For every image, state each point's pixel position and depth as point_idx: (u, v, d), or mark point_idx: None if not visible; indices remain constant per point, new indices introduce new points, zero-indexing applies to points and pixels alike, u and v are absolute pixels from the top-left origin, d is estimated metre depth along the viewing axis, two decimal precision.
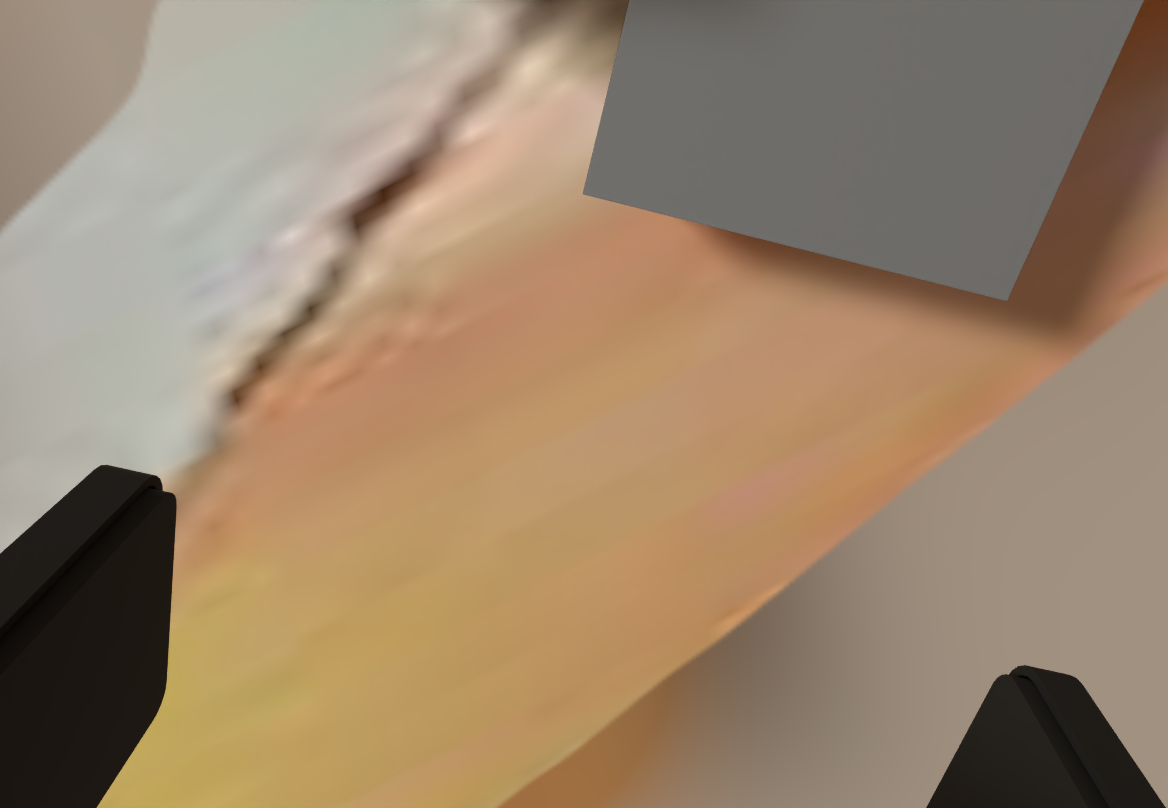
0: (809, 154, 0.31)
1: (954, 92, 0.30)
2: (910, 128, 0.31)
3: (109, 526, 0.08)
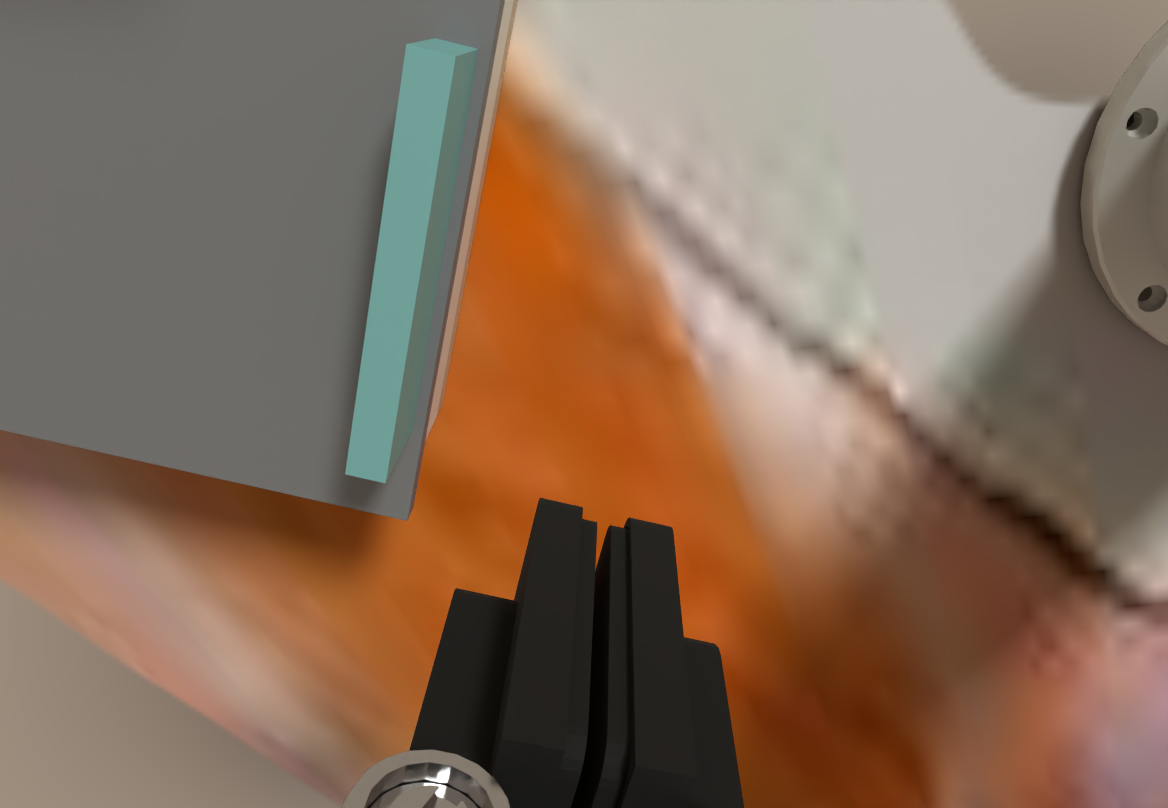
0: None
1: None
2: None
3: (578, 553, 0.10)
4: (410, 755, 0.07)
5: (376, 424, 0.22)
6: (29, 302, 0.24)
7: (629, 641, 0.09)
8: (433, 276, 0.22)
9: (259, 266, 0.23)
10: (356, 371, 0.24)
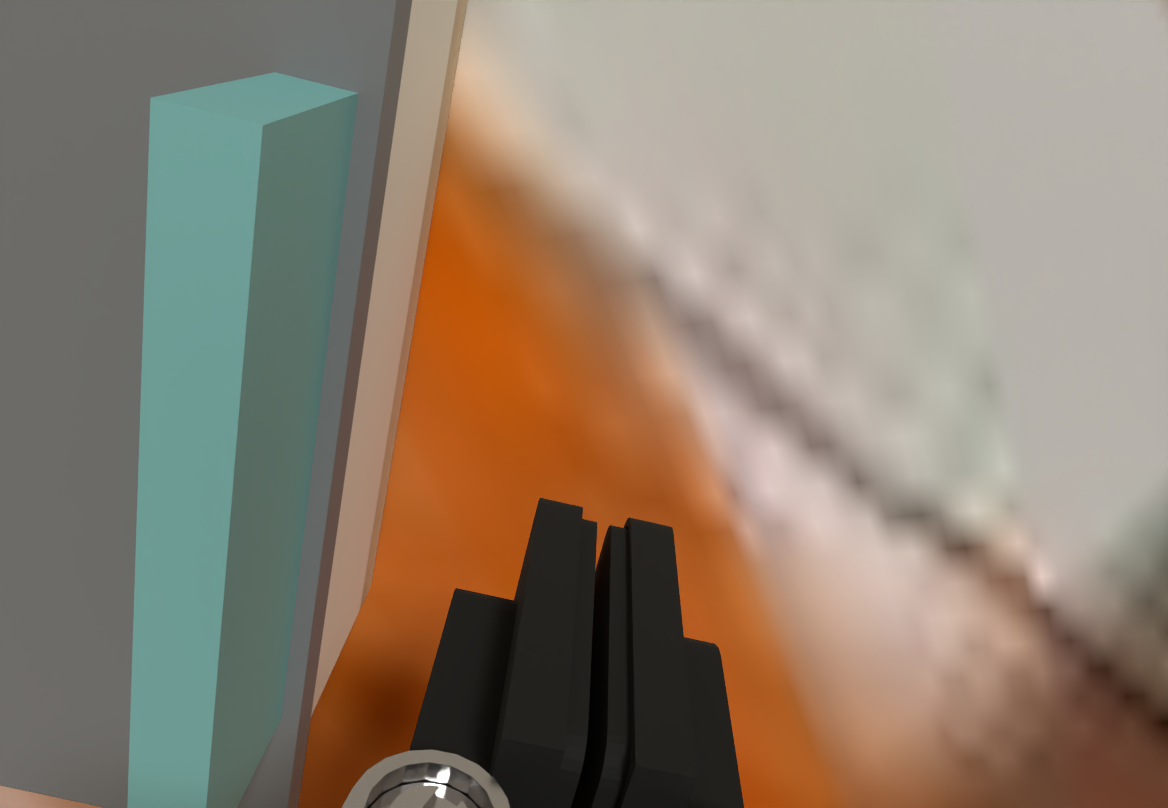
0: None
1: None
2: None
3: (579, 553, 0.10)
4: (410, 755, 0.07)
5: (172, 793, 0.11)
6: None
7: (629, 641, 0.09)
8: (287, 505, 0.12)
9: None
10: None
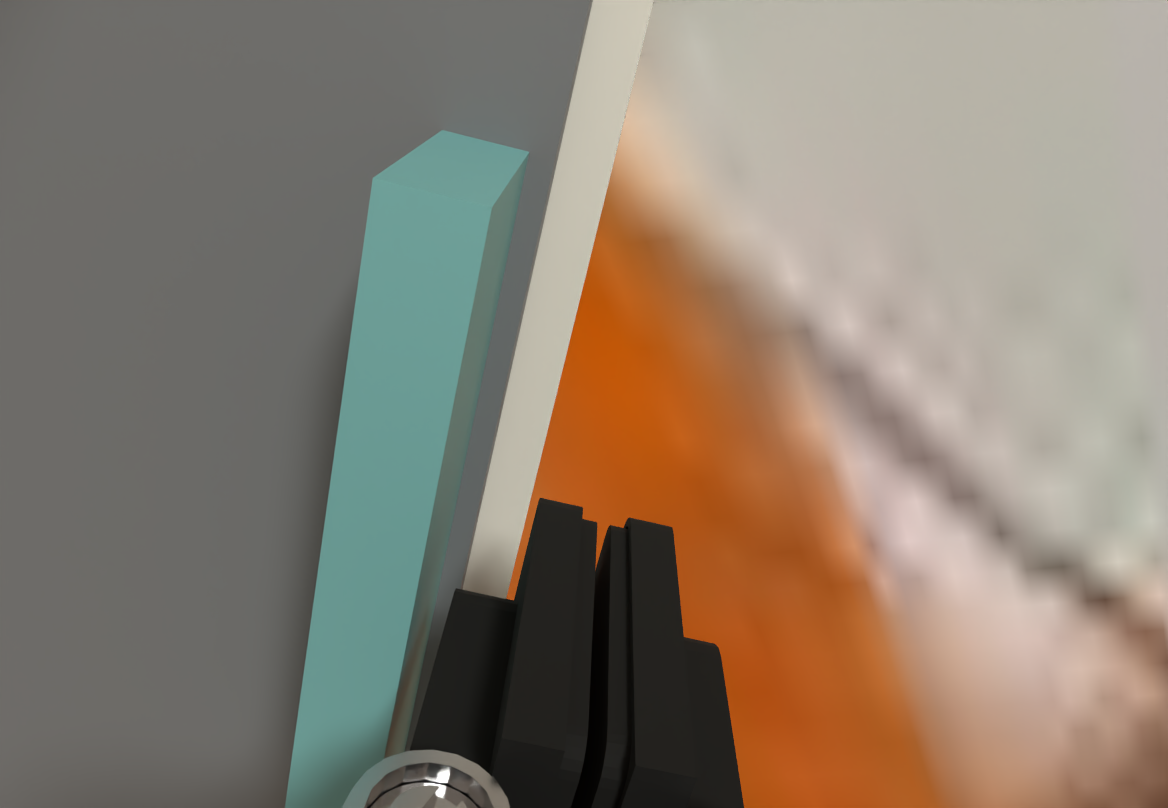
0: None
1: None
2: None
3: (578, 553, 0.10)
4: (410, 755, 0.07)
5: None
6: None
7: (629, 641, 0.09)
8: (435, 577, 0.11)
9: (115, 531, 0.13)
10: (297, 697, 0.14)
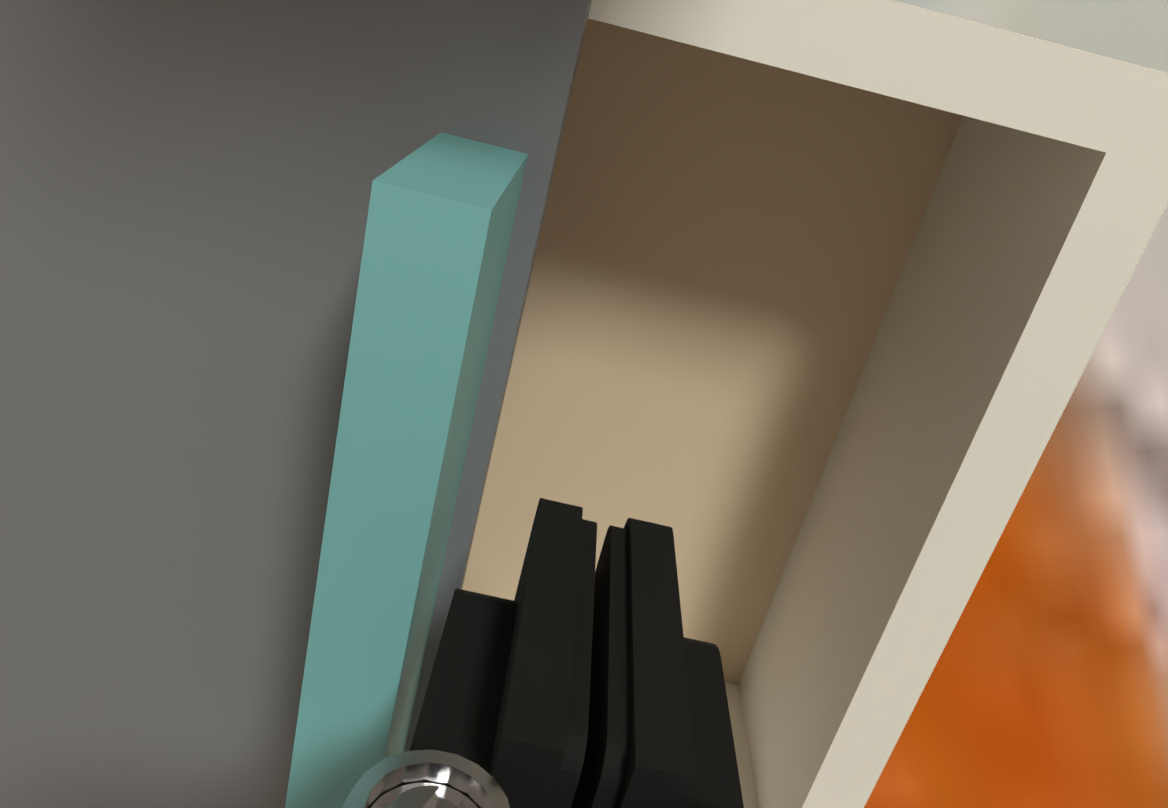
0: None
1: None
2: None
3: (578, 553, 0.10)
4: (410, 755, 0.07)
5: None
6: None
7: (629, 641, 0.09)
8: (435, 579, 0.12)
9: (114, 533, 0.13)
10: (296, 699, 0.14)
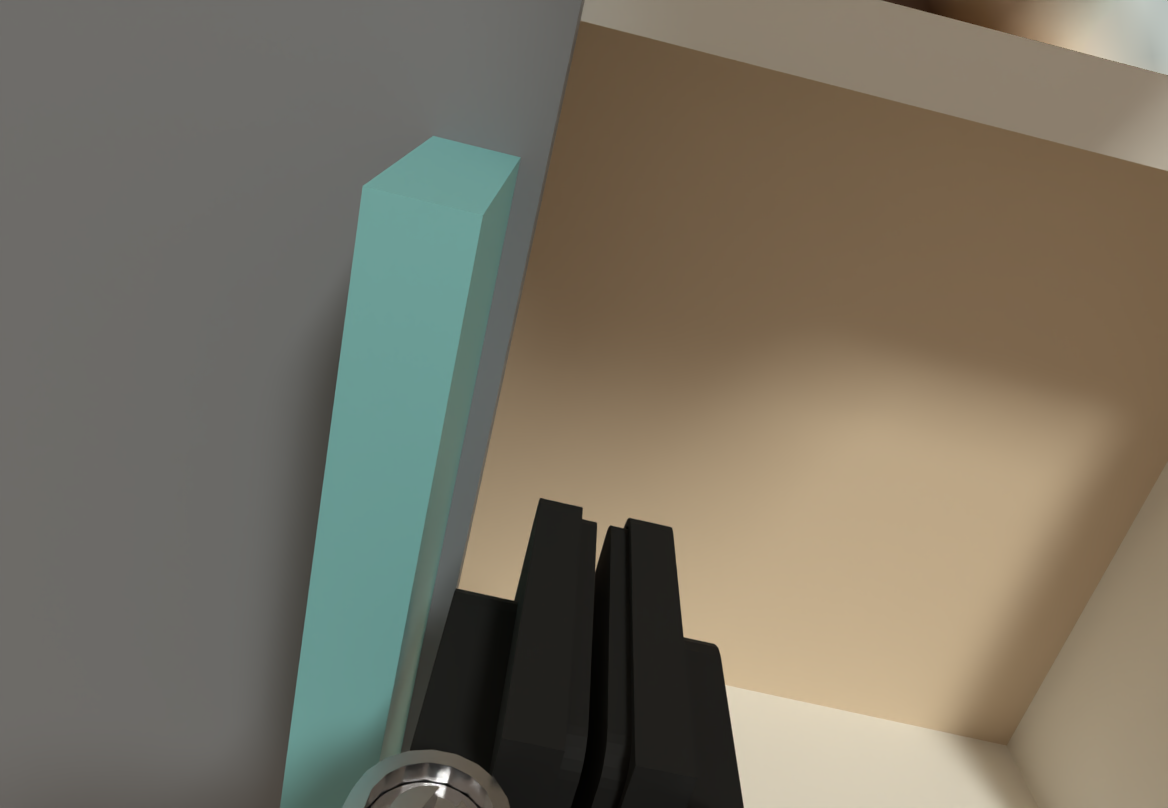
0: None
1: None
2: None
3: (578, 553, 0.10)
4: (410, 755, 0.07)
5: None
6: None
7: (629, 641, 0.09)
8: (429, 585, 0.11)
9: (106, 540, 0.13)
10: (291, 706, 0.14)
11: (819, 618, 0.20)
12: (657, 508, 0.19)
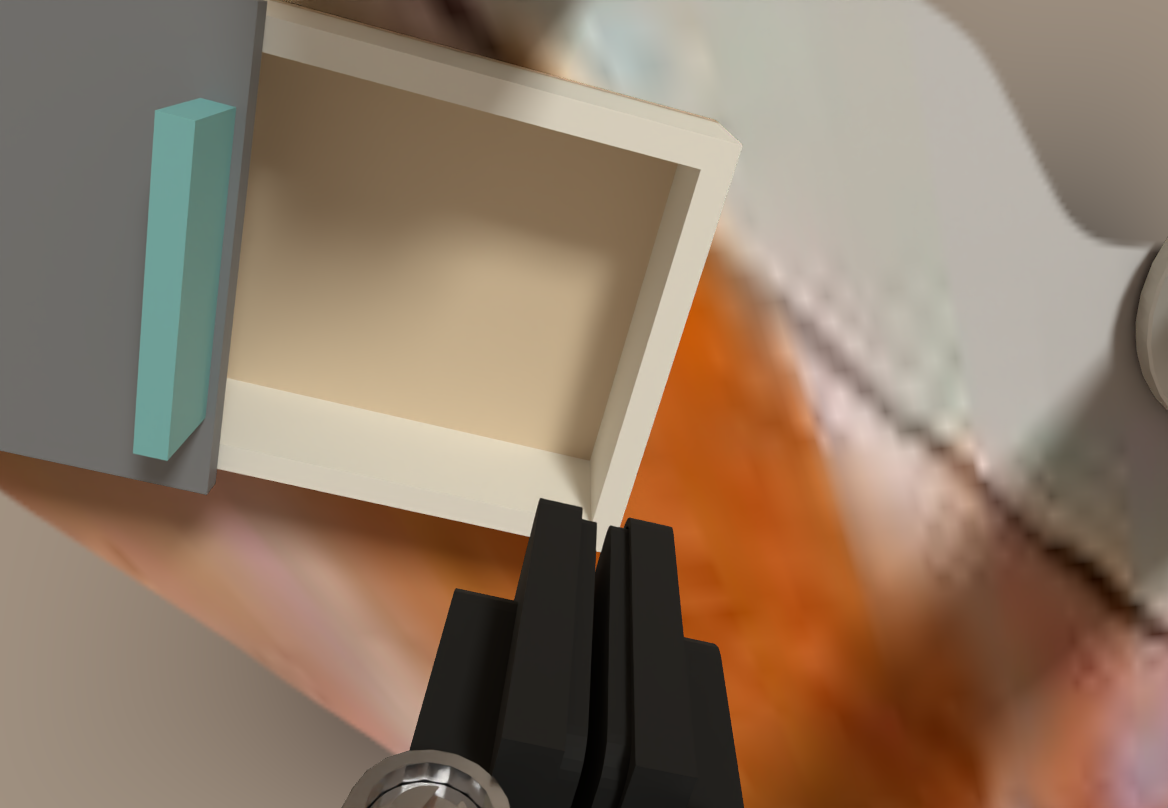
0: None
1: None
2: None
3: (579, 553, 0.10)
4: (410, 755, 0.07)
5: (156, 411, 0.26)
6: None
7: (629, 641, 0.09)
8: (207, 290, 0.27)
9: (65, 280, 0.28)
10: None
11: (473, 380, 0.36)
12: (375, 313, 0.35)
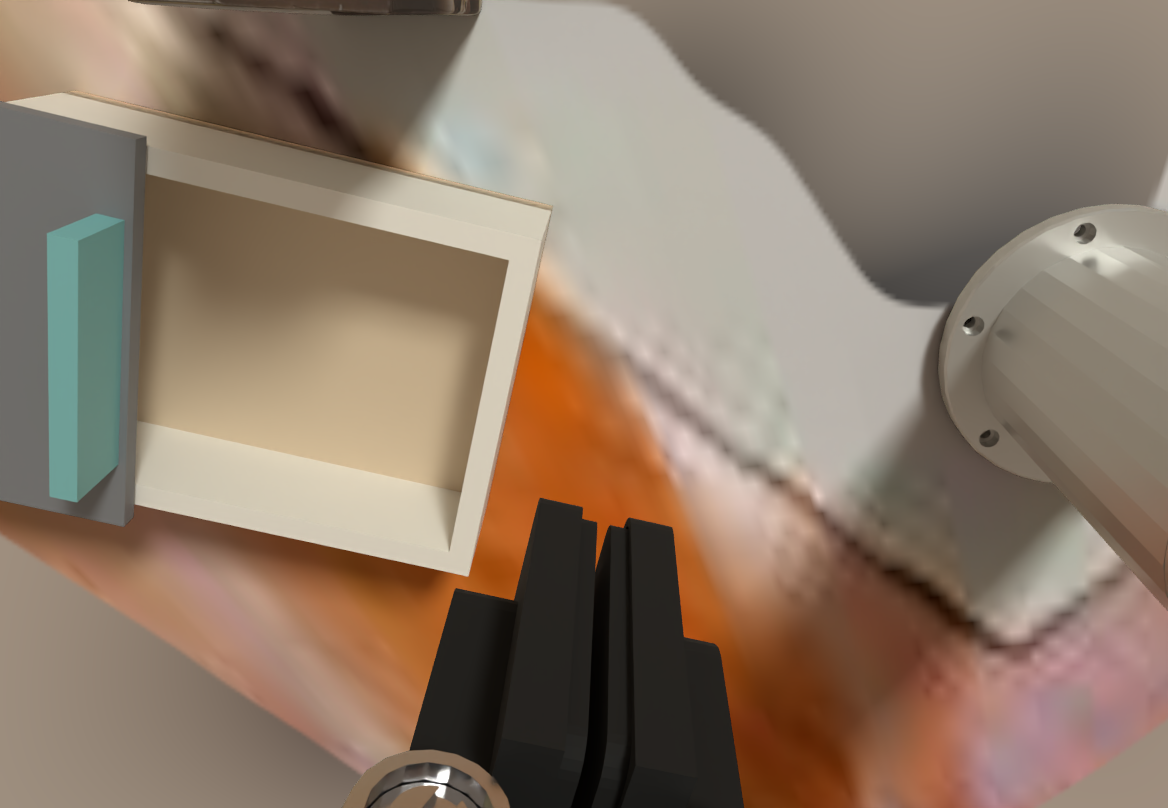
0: None
1: None
2: None
3: (579, 553, 0.10)
4: (410, 755, 0.07)
5: (65, 463, 0.33)
6: None
7: (629, 641, 0.09)
8: (108, 364, 0.33)
9: (0, 355, 0.34)
10: None
11: (362, 425, 0.42)
12: (275, 370, 0.41)
